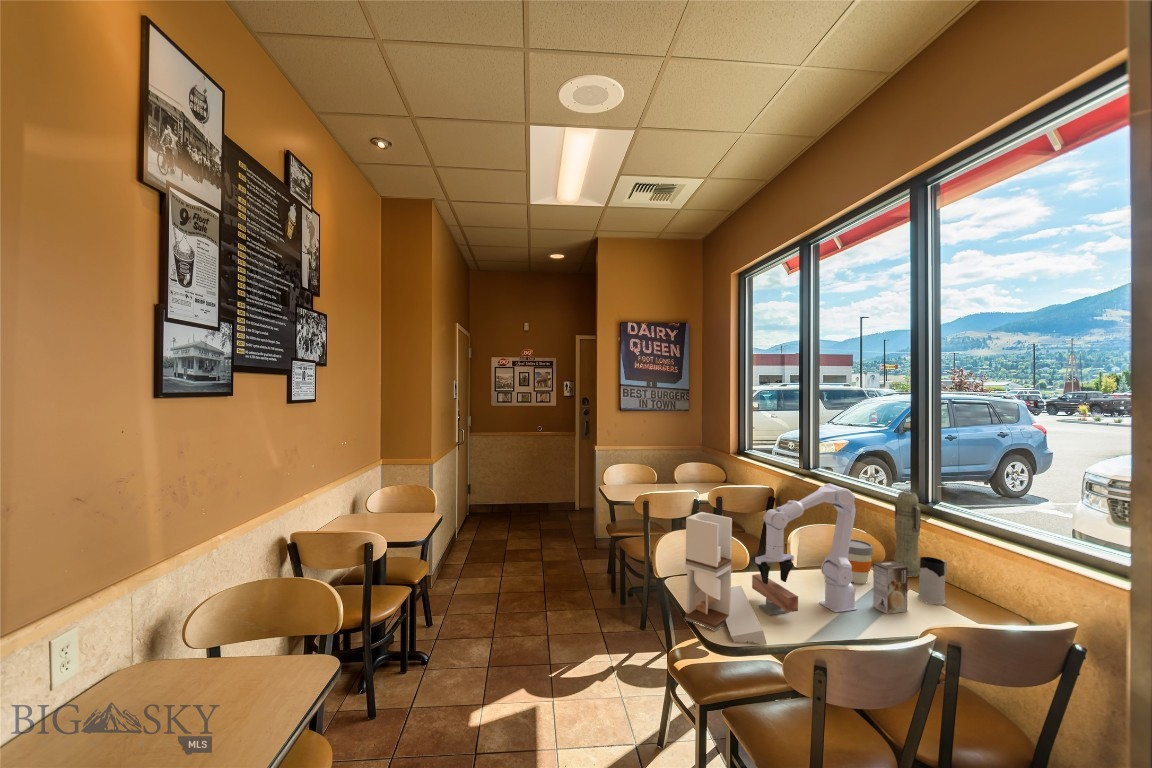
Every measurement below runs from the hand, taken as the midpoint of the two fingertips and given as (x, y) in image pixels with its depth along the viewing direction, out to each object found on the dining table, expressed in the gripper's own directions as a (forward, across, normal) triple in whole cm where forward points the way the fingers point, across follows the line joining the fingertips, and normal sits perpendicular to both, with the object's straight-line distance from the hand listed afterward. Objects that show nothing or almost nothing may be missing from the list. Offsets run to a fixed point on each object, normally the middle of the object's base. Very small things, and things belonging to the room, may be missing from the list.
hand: (774, 582), depth 176 cm
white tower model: (+10, +27, +1) cm, 29 cm away
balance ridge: (+10, 0, 0) cm, 10 cm away
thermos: (+10, -78, -16) cm, 80 cm away
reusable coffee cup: (+10, -51, -16) cm, 54 cm away
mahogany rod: (+6, 0, 0) cm, 6 cm away
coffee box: (+10, -42, +9) cm, 44 cm away
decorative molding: (+11, +16, +1) cm, 19 cm away
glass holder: (+10, -67, +6) cm, 68 cm away
